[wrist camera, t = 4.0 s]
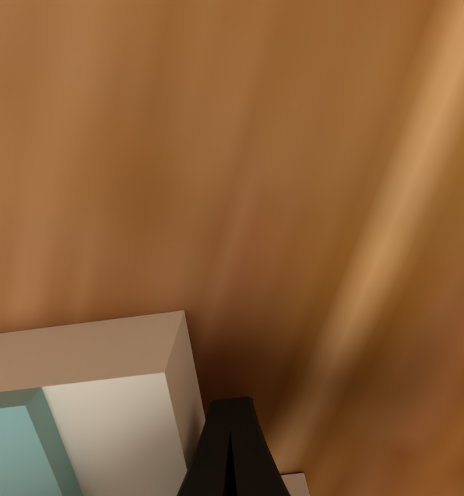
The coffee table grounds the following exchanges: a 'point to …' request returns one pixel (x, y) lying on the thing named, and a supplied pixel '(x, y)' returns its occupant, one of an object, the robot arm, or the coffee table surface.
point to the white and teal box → (99, 408)
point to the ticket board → (296, 484)
